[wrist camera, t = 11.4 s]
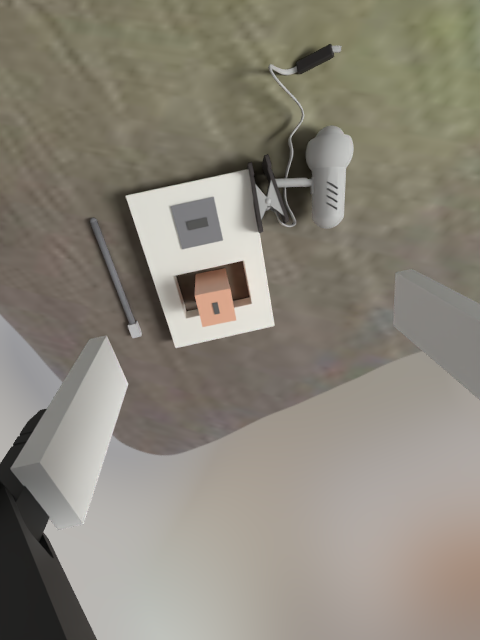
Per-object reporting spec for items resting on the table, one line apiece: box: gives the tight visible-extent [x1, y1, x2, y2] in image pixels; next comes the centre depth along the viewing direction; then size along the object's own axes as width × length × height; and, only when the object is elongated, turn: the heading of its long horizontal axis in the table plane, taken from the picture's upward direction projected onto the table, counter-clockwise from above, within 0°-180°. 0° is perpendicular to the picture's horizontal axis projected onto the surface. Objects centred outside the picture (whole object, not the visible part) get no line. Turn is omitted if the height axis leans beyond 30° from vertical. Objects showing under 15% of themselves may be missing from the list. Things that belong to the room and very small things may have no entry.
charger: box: [195, 268, 236, 327], centre depth 40 cm, size 4×4×8 cm
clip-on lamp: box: [247, 44, 353, 233], centre depth 35 cm, size 12×6×18 cm
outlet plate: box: [126, 169, 275, 348], centre depth 41 cm, size 20×14×3 cm
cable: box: [90, 218, 142, 338], centre depth 41 cm, size 16×1×1 cm, turn 11°
